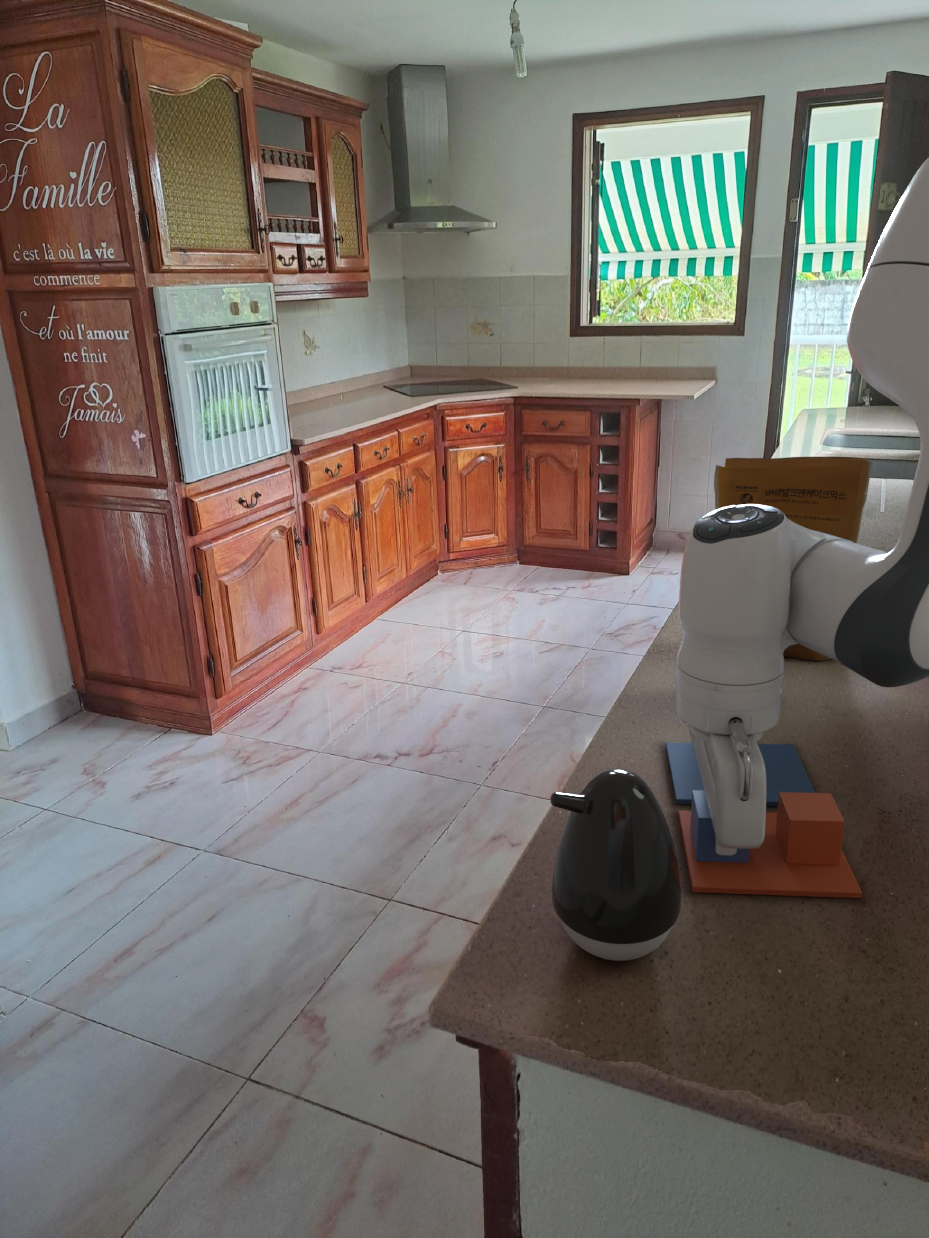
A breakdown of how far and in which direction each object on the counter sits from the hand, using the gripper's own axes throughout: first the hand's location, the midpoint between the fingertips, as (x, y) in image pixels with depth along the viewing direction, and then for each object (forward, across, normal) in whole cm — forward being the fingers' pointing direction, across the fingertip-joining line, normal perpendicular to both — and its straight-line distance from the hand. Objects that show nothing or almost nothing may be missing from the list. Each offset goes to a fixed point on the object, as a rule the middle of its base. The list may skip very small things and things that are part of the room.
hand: (719, 830), depth 81 cm
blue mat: (+2, +14, -4) cm, 15 cm away
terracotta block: (+2, 0, -8) cm, 8 cm away
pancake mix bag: (+2, +48, -15) cm, 50 cm away
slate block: (+2, 0, 0) cm, 2 cm away
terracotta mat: (+2, 0, -4) cm, 5 cm away
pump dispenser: (+2, -12, +10) cm, 16 cm away
